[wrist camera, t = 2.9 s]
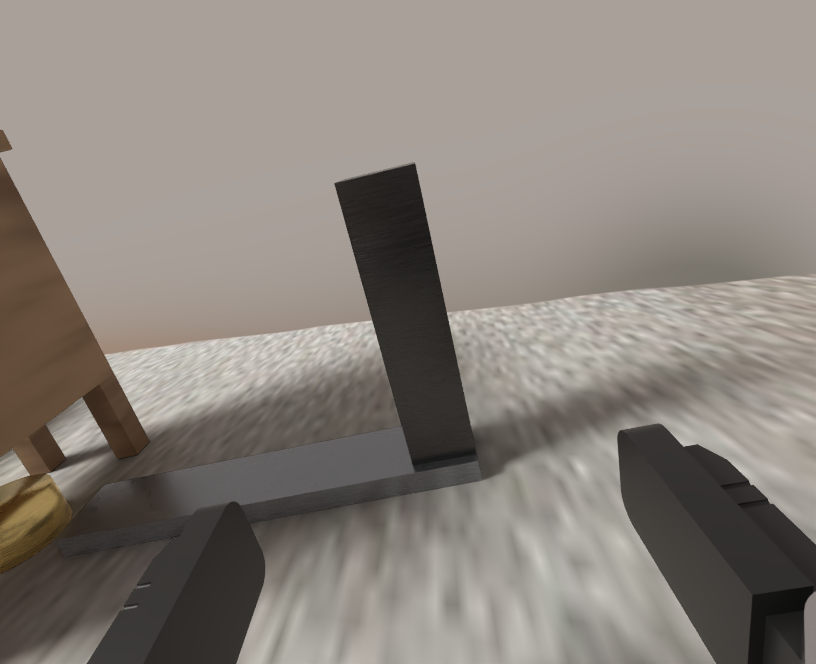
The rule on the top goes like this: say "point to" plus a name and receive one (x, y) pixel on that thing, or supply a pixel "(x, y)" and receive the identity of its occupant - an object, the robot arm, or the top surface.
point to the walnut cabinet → (48, 348)
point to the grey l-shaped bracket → (344, 457)
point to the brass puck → (30, 518)
